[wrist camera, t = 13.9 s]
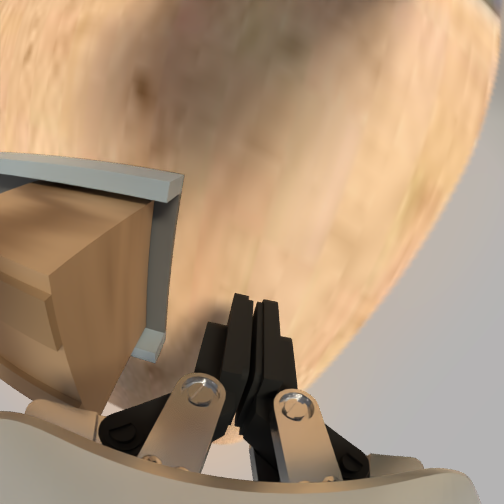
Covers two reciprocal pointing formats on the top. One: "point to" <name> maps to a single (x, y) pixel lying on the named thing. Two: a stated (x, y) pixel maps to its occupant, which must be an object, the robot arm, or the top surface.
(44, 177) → the bay
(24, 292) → the crate
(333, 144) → the top surface
